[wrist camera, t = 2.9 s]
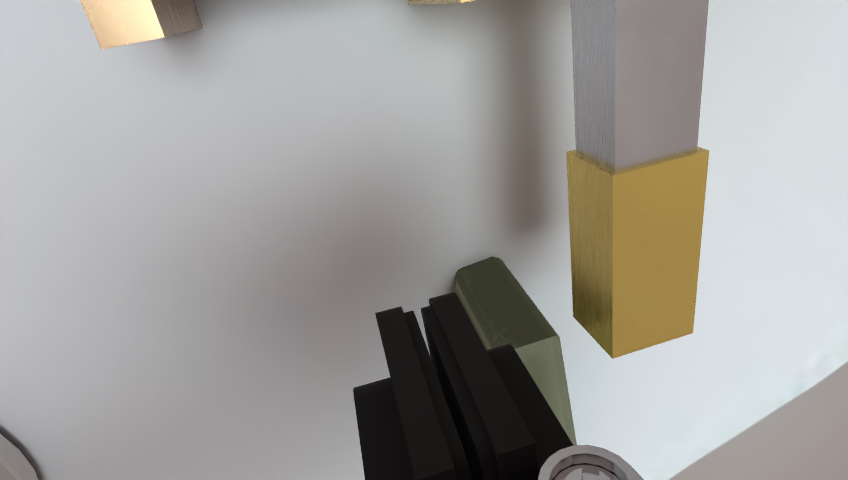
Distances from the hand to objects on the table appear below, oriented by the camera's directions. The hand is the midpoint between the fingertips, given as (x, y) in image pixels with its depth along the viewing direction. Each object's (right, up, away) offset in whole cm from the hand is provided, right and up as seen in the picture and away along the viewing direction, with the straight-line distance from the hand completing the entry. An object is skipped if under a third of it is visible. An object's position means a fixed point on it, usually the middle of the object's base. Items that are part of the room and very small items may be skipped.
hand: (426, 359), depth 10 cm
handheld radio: (+5, -9, +19) cm, 22 cm away
